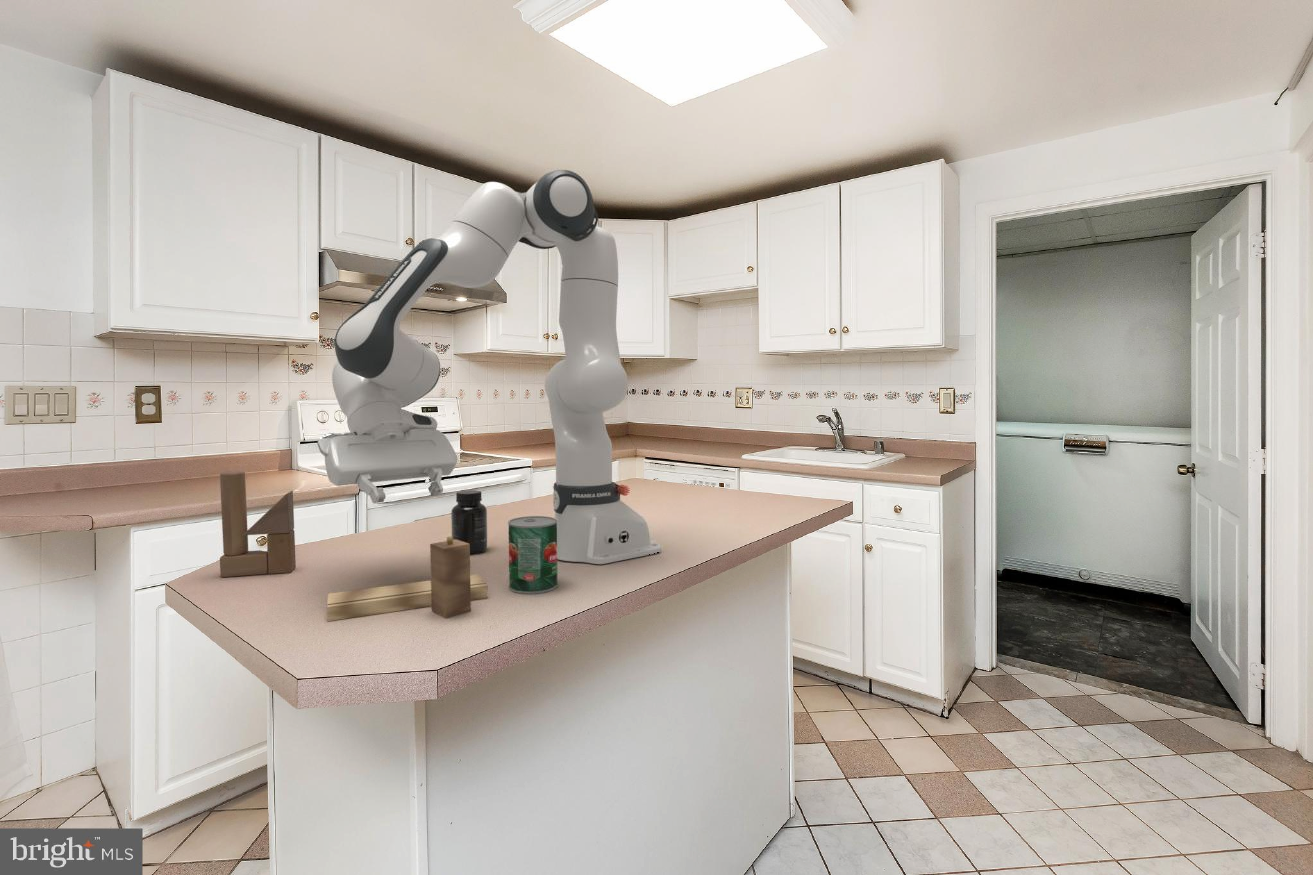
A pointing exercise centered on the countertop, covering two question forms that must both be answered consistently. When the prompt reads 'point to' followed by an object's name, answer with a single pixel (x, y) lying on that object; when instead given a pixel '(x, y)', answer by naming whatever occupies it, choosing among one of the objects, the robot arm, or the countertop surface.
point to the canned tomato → (532, 554)
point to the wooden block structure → (254, 532)
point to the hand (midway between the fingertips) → (409, 496)
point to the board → (390, 598)
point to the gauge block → (450, 577)
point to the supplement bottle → (470, 520)
